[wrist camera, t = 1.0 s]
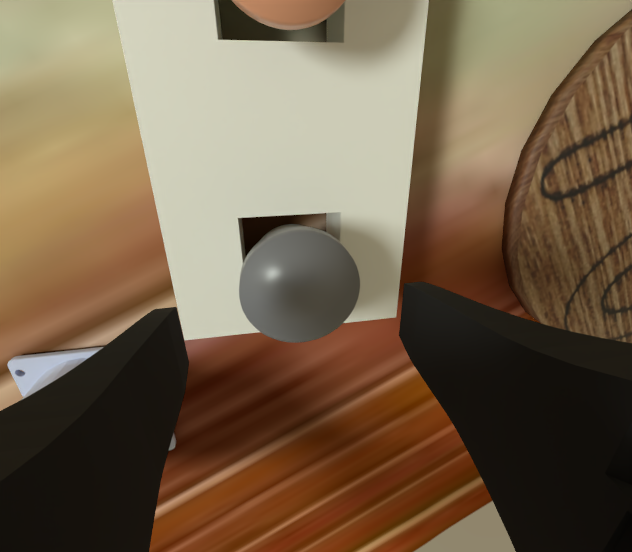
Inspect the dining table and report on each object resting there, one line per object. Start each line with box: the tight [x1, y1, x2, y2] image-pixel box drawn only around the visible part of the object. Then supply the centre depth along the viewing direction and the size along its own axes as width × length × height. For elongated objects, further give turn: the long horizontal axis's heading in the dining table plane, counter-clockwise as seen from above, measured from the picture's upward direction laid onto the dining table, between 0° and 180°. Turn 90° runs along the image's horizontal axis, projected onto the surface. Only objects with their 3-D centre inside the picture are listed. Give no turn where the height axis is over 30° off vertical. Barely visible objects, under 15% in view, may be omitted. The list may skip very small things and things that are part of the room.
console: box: [112, 0, 429, 340], centre depth 16 cm, size 20×12×4 cm, turn 1°
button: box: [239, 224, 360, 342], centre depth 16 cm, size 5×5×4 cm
